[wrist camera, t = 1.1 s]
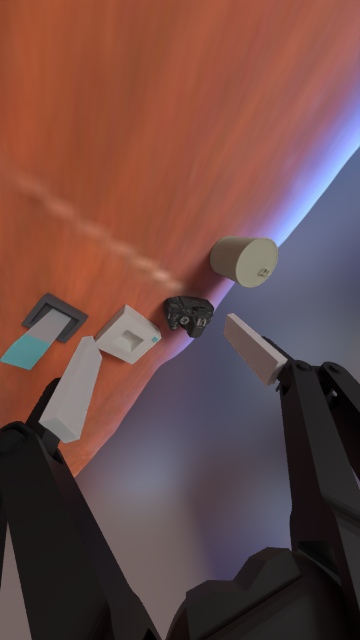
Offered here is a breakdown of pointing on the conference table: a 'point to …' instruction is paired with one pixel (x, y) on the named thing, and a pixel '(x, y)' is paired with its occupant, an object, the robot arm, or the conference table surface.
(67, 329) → the dark grey square tray
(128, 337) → the port panel
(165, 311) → the camera
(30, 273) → the conference table surface
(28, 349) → the plug
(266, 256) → the can
